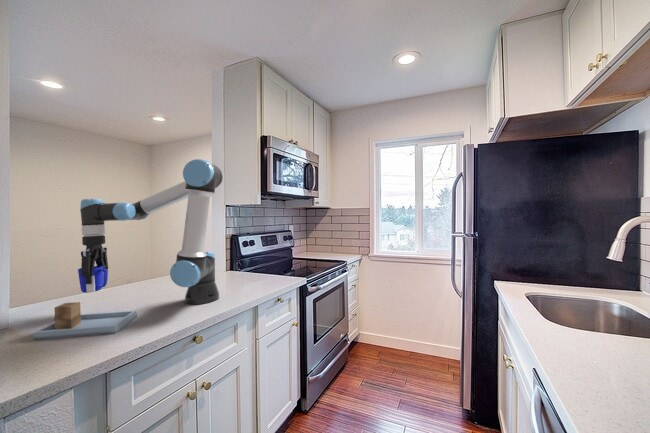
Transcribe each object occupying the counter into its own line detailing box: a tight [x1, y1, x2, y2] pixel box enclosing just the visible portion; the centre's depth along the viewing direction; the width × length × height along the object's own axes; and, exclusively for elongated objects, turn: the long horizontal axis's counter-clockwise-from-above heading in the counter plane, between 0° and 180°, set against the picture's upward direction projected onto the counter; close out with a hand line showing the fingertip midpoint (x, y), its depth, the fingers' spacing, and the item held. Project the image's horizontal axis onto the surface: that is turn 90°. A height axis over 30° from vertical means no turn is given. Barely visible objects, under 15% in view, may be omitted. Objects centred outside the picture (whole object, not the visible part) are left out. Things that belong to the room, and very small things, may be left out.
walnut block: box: [54, 301, 82, 330], centre depth 101 cm, size 5×5×8 cm
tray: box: [32, 310, 138, 341], centre depth 102 cm, size 24×16×2 cm, turn 101°
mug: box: [77, 265, 109, 294], centre depth 118 cm, size 8×12×10 cm
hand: (96, 289), depth 118 cm, fingers closed on mug, 7 cm apart
